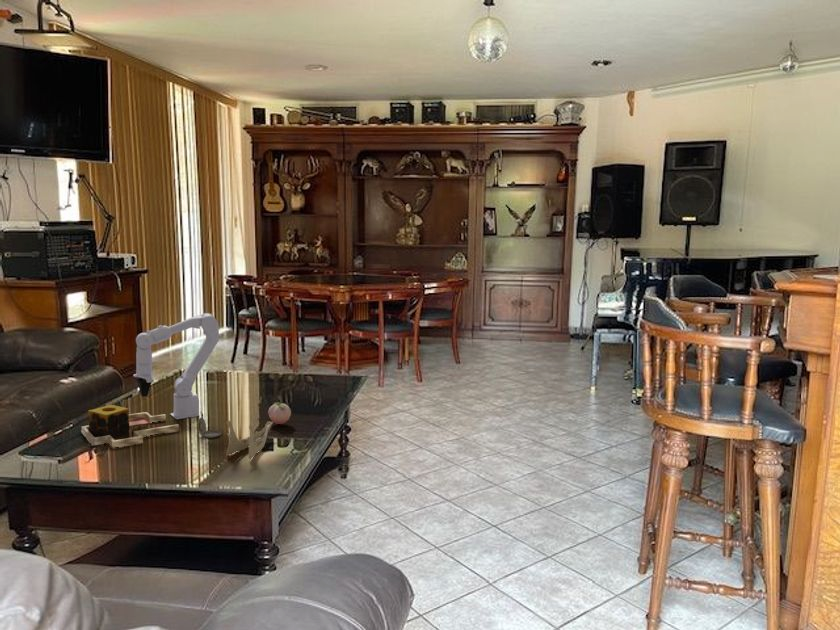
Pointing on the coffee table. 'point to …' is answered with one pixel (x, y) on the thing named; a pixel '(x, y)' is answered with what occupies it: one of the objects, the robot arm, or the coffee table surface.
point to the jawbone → (247, 440)
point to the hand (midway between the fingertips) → (144, 396)
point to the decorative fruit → (279, 413)
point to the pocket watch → (203, 429)
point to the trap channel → (138, 435)
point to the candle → (109, 421)
